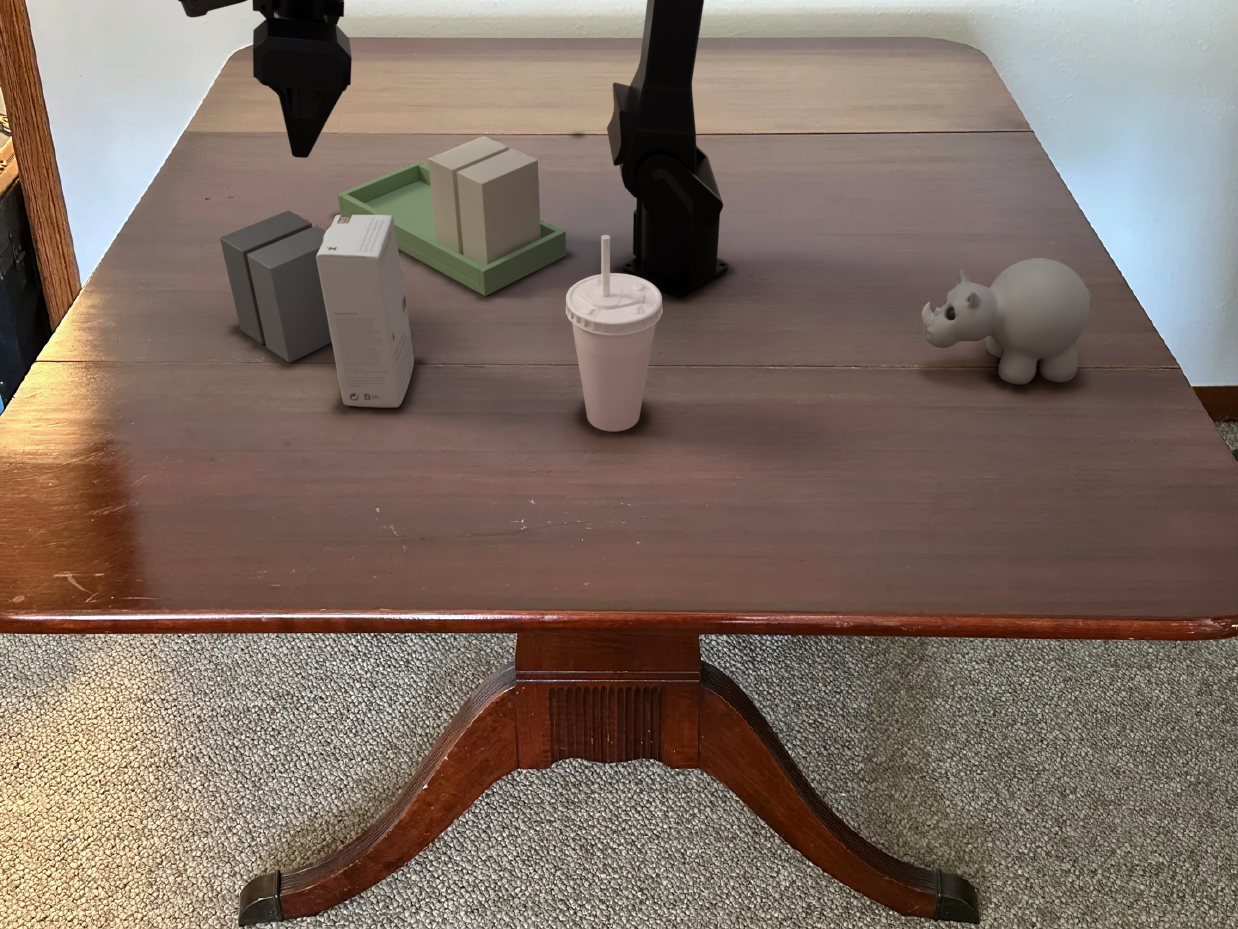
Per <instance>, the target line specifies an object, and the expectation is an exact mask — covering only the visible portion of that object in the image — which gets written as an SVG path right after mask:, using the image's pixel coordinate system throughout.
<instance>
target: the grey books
mask: <svg viewBox="0 0 1238 929" xmlns="http://www.w3.org/2000/svg"><path fill="white" fill-rule="evenodd" d="M326 231H327V230H325V229H324V228H322V227H320V226H318V225H314V226H313V223H312V222H311V221H309V220H307V219H305V218H303V217H302V216H300V215H298V214H296V213H294V212H293V211H291V210H289V209H288V210H285V211H283V212H281V213H278V214H276V215H273V216H270V217H268V218H265V219H263V220H261V221H258V222H255V223H253V224H250V225H248V226H245V227H243V228H240V229H238V230H235V231H233V232H230V233H228V234H226V235H223V236H221V237H219V240H220V245H221V249H222V253H223V258H224V262H225V268H226V271H227V276H228V280H229V284H230V289H231V294H232V297H233V298H232V299H233V302H234V307H235V312H236V315H237V319H238V324H239V329H240V331H241V332H243V333H244V334H246V335H247V336H249V337H251V338H252V339H253V340H254V341H256V342H258V343H259V344H260V345H265V347H266V349H269V350H270V351H271V352H272V353H274V354H276V356H278V357H280V358H281V359H282V360H284V361H286V362H287V363H289V364H290V363H293V362H294V361H296V360H298V359H301V358H302V357H304V356H305V357H306V356H307V355H309V354H311V353H313V352H315V351H317V350H319V349H321V348H323V347H325V346H327V345H329V344H332V340H331V334H330V329H329V323H328V318H327V313H326V307H325V302H324V297H323V292H322V287H321V281H320V276H319V270H318V265H317V259H316V256H317V253H318V251H319V249H320V247H321V245H322V243H323V237H324V234H325V233H326Z"/></svg>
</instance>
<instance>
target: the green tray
mask: <svg viewBox="0 0 1238 929" xmlns="http://www.w3.org/2000/svg"><path fill="white" fill-rule="evenodd" d="M337 202H338V208H339V215H391V216H393V220H394V228H395V235H396V241H397V247H398V250H400V251H401V252H403V253H405V254H407V255H408V256H410V257H412V258H414V259H416V260H418V261H420V262H422V263H423V264H425V265H427V266H429V267H431V268H433V270H437V271H438V272H440V273H442V274H443V275H445V276H447V277H449V278H451V279H453V280H455V281H457V282H458V283H461V284H462V285H464V286H466V287H467V288H469V289H471V290H473V291H475V292H477V293H479V294H480V295H482V296H484V297H487V296H488V295H491V294H493V293H495V292H496V291H499V290H501V289H502V288H504V287H506V286H509V285H510V284H512V283H514V282H517V281H518V280H520V279H522V278H524V277H526V276H528V275H530V274H532V273H534V272H536V271H539V270H540V269H542V268H544V267H547V266H548V265H550V264H552V263H554V262H556V261H558V260H560V259H562V258H564V257H566V256H567V231H566V230H564V229H562V228H559V227H558V226H556V225H553V224H551V223H549V222H547V221H545V220H543V219H541V218H540V230H541V239H539V240H537V241H535V242H533V243H531V244H529V245H527V246H525V247H523V248H521V249H519V250H517V251H515V252H513V253H510V254H508V255H506V256H504V257H502V258H500V259H498V260H496V261H494V262H492V263H490V264H488V265H486V266H482V265H480V264H478V263H477V262H475V261H473V260H471V259H469V258H467V257H465V256H463V255H461V254H459V253H458V252H456V251H454V250H452V249H450V248H448V247H446V246H444V245H442V244H440V243H439V242H437V241H436V234H435V224H434V214H433V204H432V193H431V183H430V173H429V164H425V163H423V162H421V161H419V160H418V161H415V162H414V163H411V164H408V165H406V166H403V167H401V168H398V169H396V170H394V171H391V172H389V173H386V174H383V175H381V176H378V177H376V178H374V179H371V180H369V181H367V182H364V183H361V184H358V185H356V186H354V187H351V188H349V189H347V190H344V191H341V192H339V193H337Z"/></svg>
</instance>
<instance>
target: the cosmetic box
mask: <svg viewBox="0 0 1238 929" xmlns="http://www.w3.org/2000/svg"><path fill="white" fill-rule="evenodd" d="M325 231H326V233H325V234H324V237H323V243H322V245H321V247H320V249H319V251H318V253H317V256H316V259H317V265H318V270H319V276H320V281H321V287H322V292H323V297H324V302H325V307H326V313H327V318H328V323H329V329H330V334H331V340H332V343H331V345H332V350H333V356H334V361H335V367H336V372H337V379H338V383H339V388H340V393H341V398H342V403H343V405H345V406H351V407H359V408H360V407H361V408H399V407H400V406H401V405H402V402H403V401H404V398H405V396H406V393H407V390H408V388H409V385H410V381H411V378H412V374H413V370H414V366H415V354H414V350H413V342H412V334H411V328H410V322H409V314H408V308H407V301H406V300H407V299H406V293H405V287H404V280H403V272H402V266H401V260H400V253H399V249H398V247H397V241H396V235H395V228H394V220H393V216H391V215H340V214H336V215H335V216H334V218H333V220H332V222H331V225H330V227H329V228H328V229H327V230H325Z"/></svg>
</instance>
